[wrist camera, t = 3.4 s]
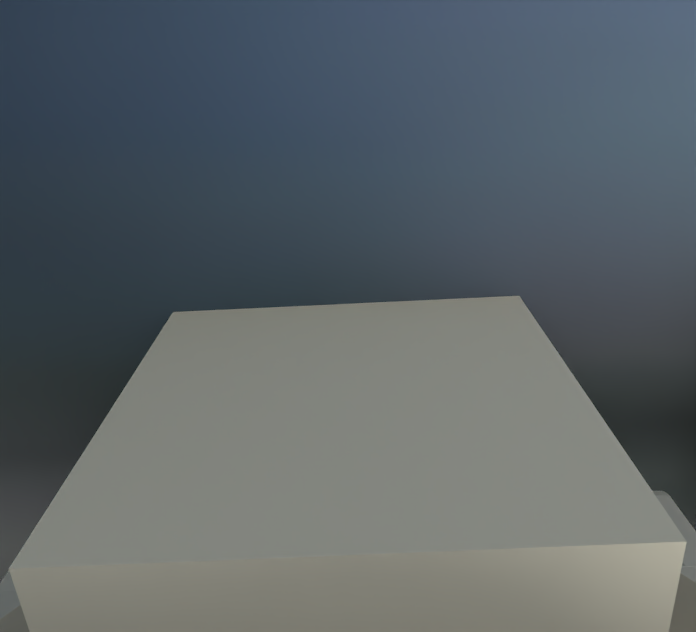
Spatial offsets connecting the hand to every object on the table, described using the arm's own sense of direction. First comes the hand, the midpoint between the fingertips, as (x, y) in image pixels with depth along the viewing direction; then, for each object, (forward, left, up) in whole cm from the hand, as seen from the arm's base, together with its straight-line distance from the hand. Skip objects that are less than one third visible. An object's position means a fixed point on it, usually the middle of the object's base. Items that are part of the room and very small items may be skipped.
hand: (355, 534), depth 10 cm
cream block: (0, 0, -2) cm, 2 cm away
